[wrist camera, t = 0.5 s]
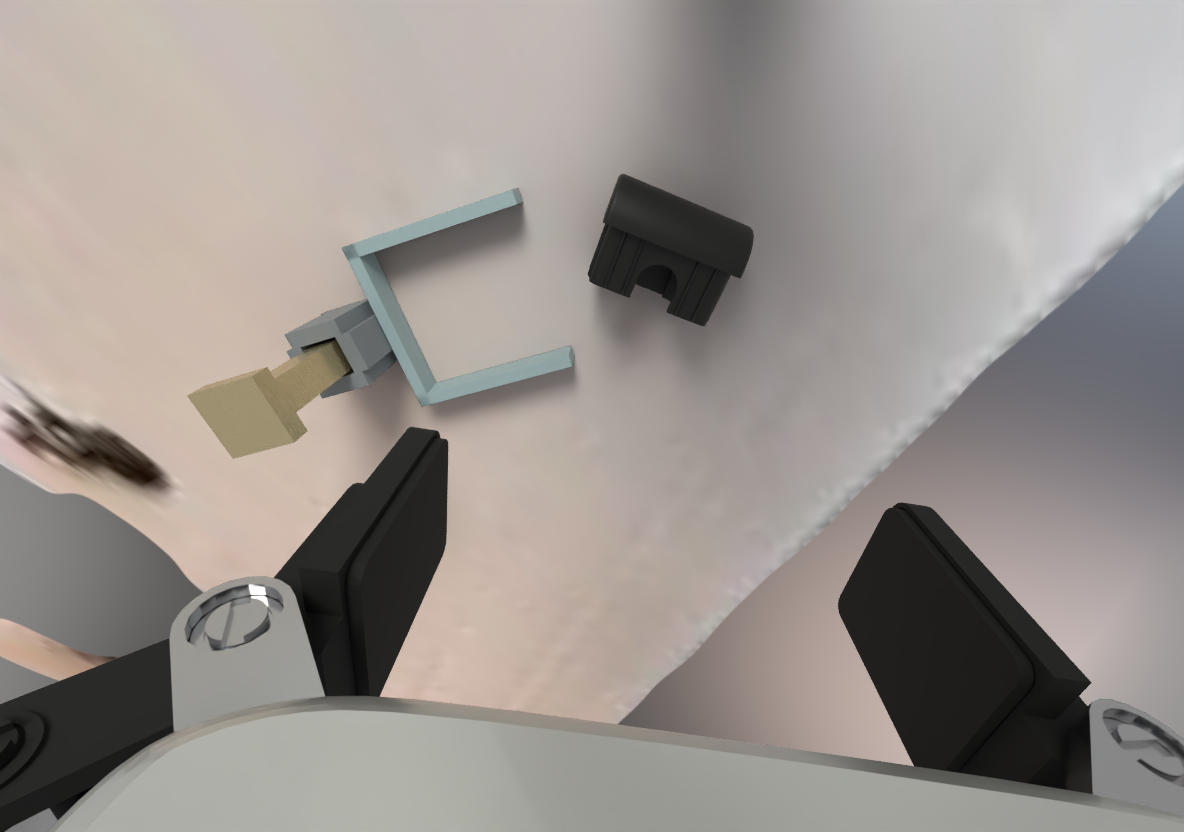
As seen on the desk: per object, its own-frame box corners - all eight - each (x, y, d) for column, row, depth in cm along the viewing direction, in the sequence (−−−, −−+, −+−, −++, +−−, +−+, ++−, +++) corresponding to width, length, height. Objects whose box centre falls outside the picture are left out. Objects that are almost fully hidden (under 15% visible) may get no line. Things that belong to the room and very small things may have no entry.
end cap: (741, 222, 38) (764, 233, 32) (700, 307, 41) (713, 332, 35) (620, 171, 37) (620, 173, 31) (587, 263, 40) (581, 281, 34)
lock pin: (293, 337, 38) (186, 395, 28) (343, 322, 37) (251, 376, 28) (323, 388, 39) (232, 458, 30) (371, 375, 39) (294, 442, 29)
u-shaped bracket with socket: (298, 262, 41) (243, 280, 35) (518, 188, 38) (498, 193, 32) (378, 409, 47) (343, 445, 41) (574, 355, 44) (567, 387, 37)
